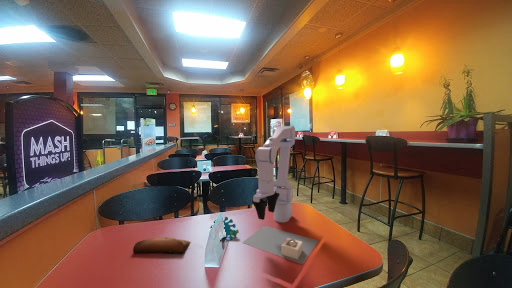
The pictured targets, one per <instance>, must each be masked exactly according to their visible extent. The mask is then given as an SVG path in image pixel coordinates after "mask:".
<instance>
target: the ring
mask: <svg viewBox="0 0 512 288" xmlns="http://www.w3.org/2000/svg"><path fill="white" fill-rule="evenodd" d="M289 240H291V239H289V238H287V239H286V240H285V242H284V243H283V244H282V245H281V254H282V255H285V256H288V257H292V258H295V259H298V258H299V256H300V254H301V252H302V250H303V247H302V242H301V241H297V240H295V241H296V248H295V247H292V246H289Z"/></svg>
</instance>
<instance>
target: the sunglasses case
mask: <svg viewBox="0 0 512 288" xmlns="http://www.w3.org/2000/svg"><path fill="white" fill-rule="evenodd" d="M191 243H192V242H191V241H189V240H186V239H177V238H176V237H175V238H174V237H165V236H164V237H163V236H162V237H151V238H146V239H143V240H140V241H139V240H138V241H137V242H135V244H134V246H133V248H132V253H133V254H136V253H137V254H138V253H151V252H153V253H176V254H177V253H178V254H179V253H180V254H181V253H183V254H185V253H186V252H187V250H188V249H189V247H190V246H191Z"/></svg>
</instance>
